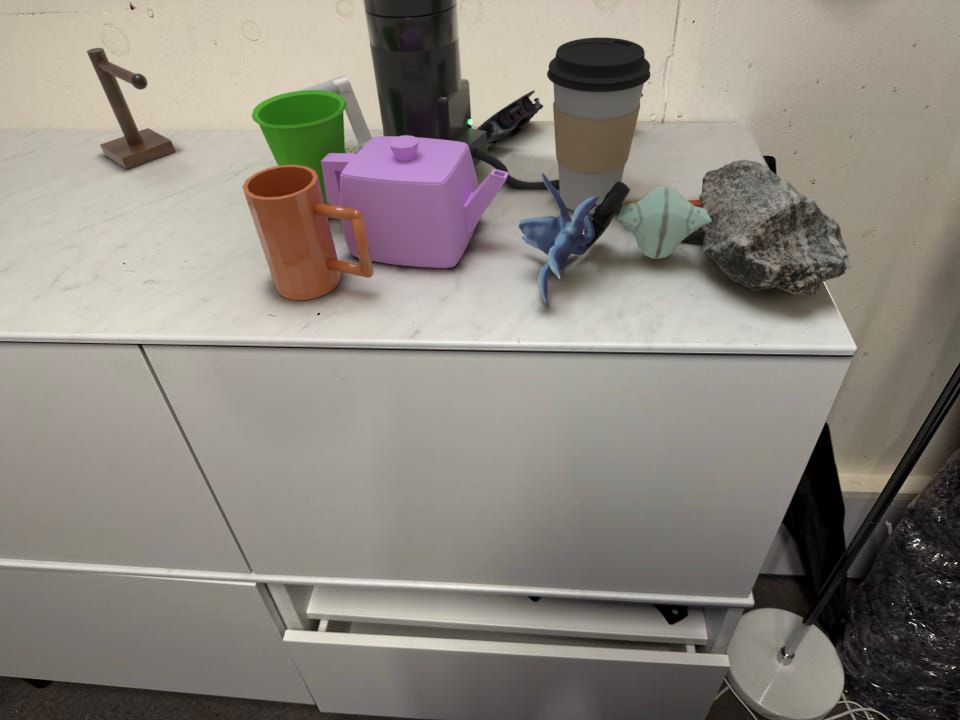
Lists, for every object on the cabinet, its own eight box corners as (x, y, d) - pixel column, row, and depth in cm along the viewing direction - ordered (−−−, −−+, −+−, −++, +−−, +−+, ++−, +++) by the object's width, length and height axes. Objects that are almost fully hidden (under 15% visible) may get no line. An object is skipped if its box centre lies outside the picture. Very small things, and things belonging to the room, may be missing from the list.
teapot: (519, 221, 64) (519, 122, 57) (494, 280, 56) (491, 175, 49) (358, 205, 68) (339, 111, 61) (315, 258, 60) (288, 158, 53)
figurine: (550, 322, 53) (480, 278, 56) (621, 250, 59) (555, 214, 62) (569, 238, 46) (487, 193, 48) (648, 166, 52) (571, 129, 54)
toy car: (478, 122, 71) (494, 145, 72) (547, 75, 76) (562, 97, 76) (454, 153, 79) (468, 173, 80) (517, 108, 83) (531, 128, 84)
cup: (378, 194, 69) (361, 93, 62) (340, 235, 63) (315, 129, 56) (308, 184, 72) (284, 86, 64) (264, 224, 65) (231, 120, 58)
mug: (262, 293, 56) (227, 192, 50) (299, 257, 60) (271, 160, 54) (360, 316, 53) (337, 212, 47) (393, 277, 57) (376, 177, 51)
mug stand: (104, 155, 80) (55, 52, 71) (152, 138, 83) (110, 38, 75) (154, 188, 73) (106, 77, 64) (205, 167, 76) (165, 60, 68)
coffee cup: (642, 187, 68) (664, 39, 57) (618, 230, 61) (638, 73, 51) (560, 174, 71) (567, 31, 61) (530, 213, 65) (532, 61, 54)
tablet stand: (325, 181, 72) (308, 109, 66) (289, 161, 76) (271, 92, 71) (384, 156, 76) (373, 86, 70) (347, 139, 80) (334, 71, 75)
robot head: (611, 267, 57) (619, 200, 52) (610, 242, 60) (618, 177, 55) (701, 271, 56) (718, 203, 51) (696, 246, 59) (712, 179, 54)
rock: (892, 270, 51) (866, 199, 44) (795, 348, 53) (757, 292, 47) (749, 179, 64) (712, 114, 57) (676, 246, 66) (633, 190, 60)
